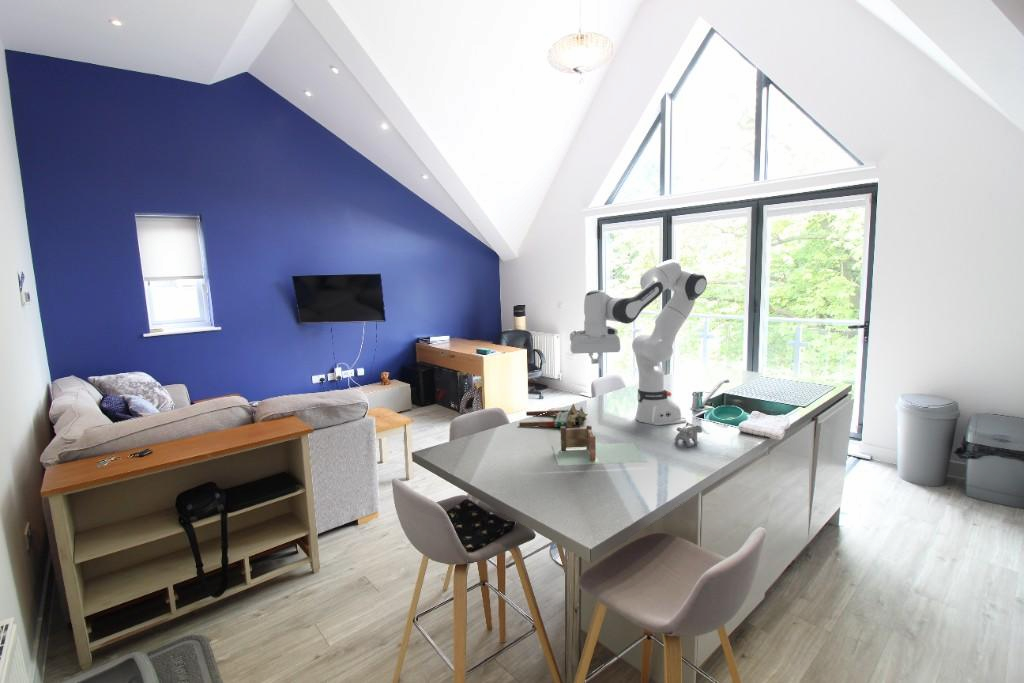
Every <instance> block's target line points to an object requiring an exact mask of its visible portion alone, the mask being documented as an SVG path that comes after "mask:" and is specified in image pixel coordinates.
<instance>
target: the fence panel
mask: <svg viewBox="0 0 1024 683" xmlns="http://www.w3.org/2000/svg"><path fill="white" fill-rule="evenodd" d="M596 444H597V443H596V435H594V434H593V430H592V431H591V429H588V449H589V452H590V460H596Z"/></svg>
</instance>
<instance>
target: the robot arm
mask: <svg viewBox="0 0 1024 683" xmlns="http://www.w3.org/2000/svg"><path fill="white" fill-rule="evenodd" d="M707 282H708V281H707V278H706V276H705V275H704V274H702V273H700V272H699V271H698V272H697V271H695V270H691V269H688V268H683V267H682V266H681V265H680V263H679V262H678V261H677V260H675V259H667V260H665V261H662V262H660V263H658V264H657V265H654V266H653V267H651V268H649V269H648V270H647V271H645V272H644V273H643V274H642V275H641V277H640V284H639V285H640V287H641V290H640V291H639V292H637V293H636V294H635V295H634V296H631V297H614V296H612V295H610V294H608V293H606V292H605V291H604V290H603V289H597V290H595V289H594V290H591V291H588V292H587V293H586V294H585V296H584V303H583V304H584V305H583V313H584V322H583V323H584V324H583V330H573V332H571V333H569V341H570V349H569V350H570V352H571V353H572V354H588V357H589V358H590V359H591V361H590V362H591V364H593V365H596V364H600V359H601V358H602V356H603V353H619V352H620V350H621V340H620V337H619V335H618V329H616V328H614V327H611V326H609V325H608V326H607V321H611V322H612V321H613V322H616V323H622V324H628V325H629V324H631V323H634V322H635V321H636V319H637V318H638V317H639V315H640V314H641V313H642V311H643V310H644V309H645V308H647V307H648V306H649V305H650V304H651V303H653V302H654V301H655V300H656V299H658V298H659V297H660V295H661V294H662V293H663V292H664V291H666V290H669V291H672V292H673V294H672V296H671V298H670V299H669V300H668V301H667V303H666V304H665V305H664V307H663V309H662V310H661V311H660V313H659V314H658V315H657V317H656V319H655V321H654V323H655V326H654V329H653V330H652V331H653V332H652V333H651V334H640V335H638V336H636V337H635V338H634V339H633V341H632V344H631V347H632V351H633V353H634V355H635V361H636V366H637V370H638V371H637V372H638V388H637V401H638V402H637V410H636V413H635V417H634V419H635V420H636V421H637V420H638V421H637V422H640V423H643V422H644V423H645V424H649V425H653V424H654V426H662V425H663V426H664V425H671V424H680V423H681V424H682V423H687V419H686V417H685V416H684V415H683V414H682V413H681V412H682V411H681V408H680V407H679V405H678V404H677V403H675V401H673V400H671V398H669V397H671V396H672V392H670V391H667V390H666V389H665V387H664V386H665V384H664V382H665V380H664V379H665V373H664V370H663V368H662V365H661V363H664V362H667V361H669V360H670V358H672V357H673V356H672V355H673V351H674V350H673V345H674V342H675V339H676V336H677V334H678V332H679V331H680V330H681V328H682V326H683V325H684V324H685V322H686V320H687V318H688V317H689V316H690V314H691V312H692V310H693V308H694V305H695V303H696V299H698V298H699V297H700V296H701V295H703V293H704V292H705V290H706V289H707V285H708V284H707ZM594 354H597V355H598V356H597V358H594V357H593V356H594Z"/></svg>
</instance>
